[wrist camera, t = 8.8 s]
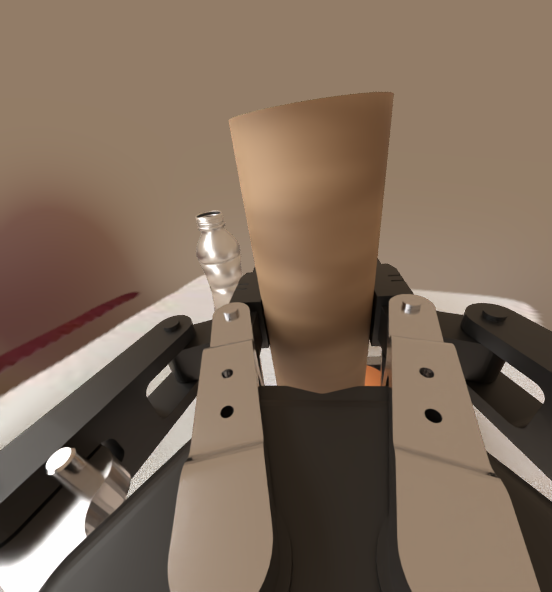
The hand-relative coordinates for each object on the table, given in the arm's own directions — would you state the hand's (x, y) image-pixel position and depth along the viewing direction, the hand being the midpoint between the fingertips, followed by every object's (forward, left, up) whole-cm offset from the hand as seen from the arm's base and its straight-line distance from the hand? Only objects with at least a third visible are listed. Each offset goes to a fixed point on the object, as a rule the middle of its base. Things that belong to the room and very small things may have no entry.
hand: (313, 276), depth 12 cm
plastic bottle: (-14, +24, -22) cm, 35 cm away
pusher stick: (0, -3, -8) cm, 8 cm away
